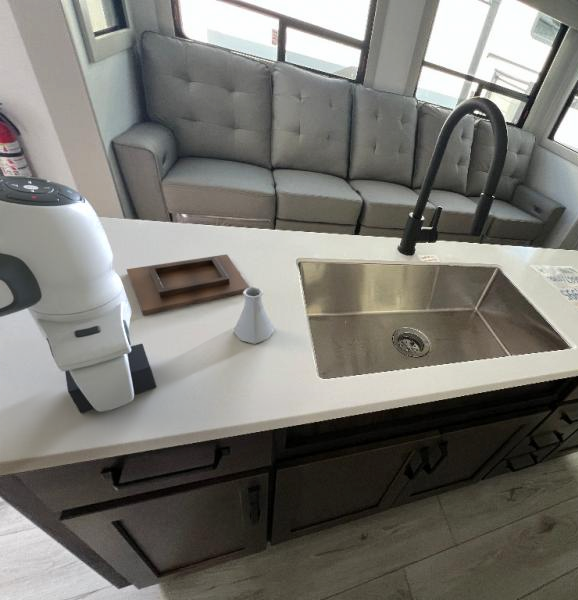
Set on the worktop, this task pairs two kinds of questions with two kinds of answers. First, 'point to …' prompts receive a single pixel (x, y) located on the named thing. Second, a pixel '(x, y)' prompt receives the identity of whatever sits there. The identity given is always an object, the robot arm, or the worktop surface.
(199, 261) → the back plate
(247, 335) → the flask
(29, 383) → the worktop surface
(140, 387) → the dark gray block
